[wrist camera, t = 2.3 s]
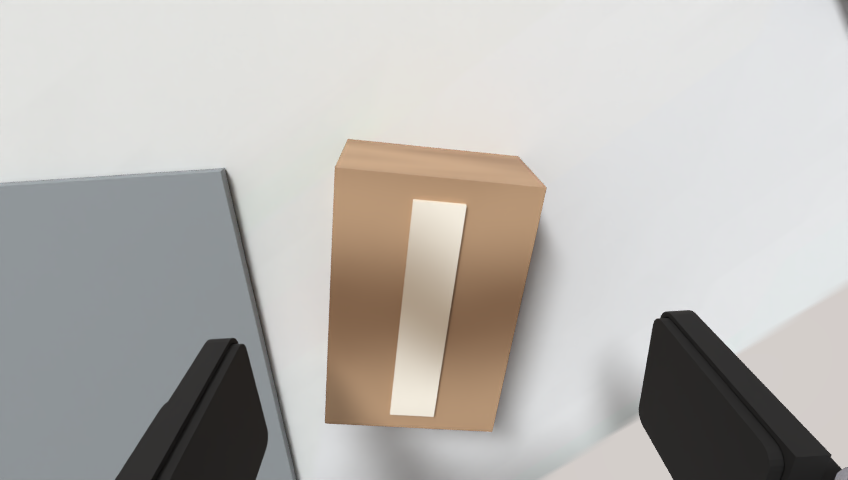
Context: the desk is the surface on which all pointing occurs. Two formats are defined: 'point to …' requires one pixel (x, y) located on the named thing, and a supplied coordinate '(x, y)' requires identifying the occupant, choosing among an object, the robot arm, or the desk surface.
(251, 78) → the desk surface
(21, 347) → the slate mat
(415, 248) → the card box
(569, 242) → the desk surface
